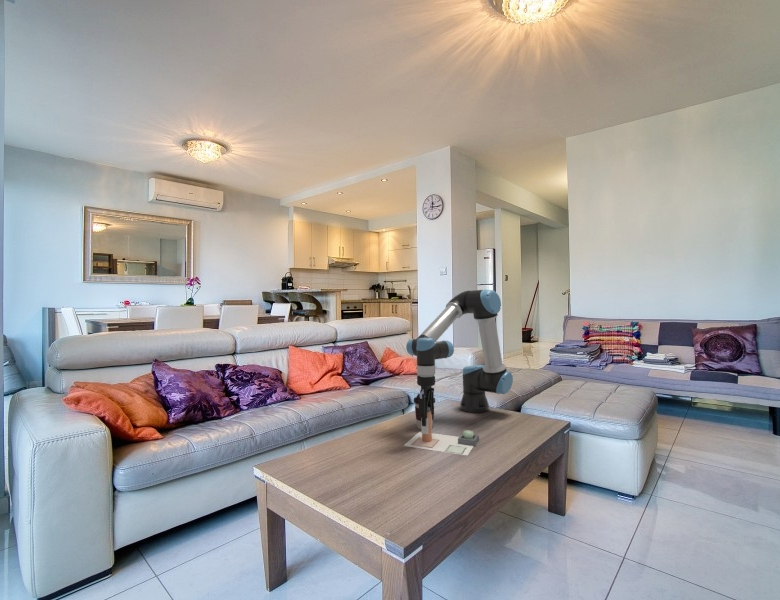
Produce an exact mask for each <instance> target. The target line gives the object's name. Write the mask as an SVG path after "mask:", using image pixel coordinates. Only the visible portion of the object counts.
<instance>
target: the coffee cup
mask: <svg viewBox="0 0 780 600" xmlns="http://www.w3.org/2000/svg"><path fill="white" fill-rule="evenodd" d="M413 403H414V404H415V406H414V411H415V412H414V414H415V420H416V427H417V428H418V429H420V430H421V418H419V399H418V394H416V396H415V397H414V398H413ZM435 403H436V398H435V397H434V404H435ZM432 412H434V414H431V415H432V429H433V428H434V419H435V410H434V411H432Z"/></svg>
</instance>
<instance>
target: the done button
mask: <svg viewBox="0 0 780 600" xmlns="http://www.w3.org/2000/svg"><path fill="white" fill-rule="evenodd" d="M462 433H463V435H464V439H472V440H473V439H474V437H473V434H474V431H473V430H466V429H465V430H463V431H462Z"/></svg>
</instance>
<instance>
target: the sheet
mask: <svg viewBox="0 0 780 600" xmlns="http://www.w3.org/2000/svg"><path fill="white" fill-rule="evenodd" d="M458 438H459V436H457V435H456V436H455V435H448V434H440V433H433V432H432V441H431V442H423V441H422V433H421V431H418V432H417V433H416V434H415V435H414V436H413V437H411V439H409V440H408V441H407V442H406V443H404V444H403V447H410V448H415V449H422V450H428V451H435V452H440V453H441V452H442V453H448V454H455V455H460V456H469V454H470V453H471V451H472V449H473V448H474V447H475V446H472V445H465V444H458Z"/></svg>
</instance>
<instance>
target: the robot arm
mask: <svg viewBox="0 0 780 600" xmlns="http://www.w3.org/2000/svg"><path fill="white" fill-rule="evenodd" d="M501 306H502V302H501V298H500V296H499V294H498V293H497V292H496V291H495V290H494V289H476V290H464V291H462V292H461V293H458V294H457V295H455V296H454V297H453V298H451V299H450V300H449V301H448V302H447V303H446V304H445V309H443V310H442V311H441V313H439V315H438V316H437V317H436V318H435V319H434V320H433V321H432V322H431V323H430V324H429V325H428V326H427V327H426V328H425V329H424V330H423V331H422V332H421V334H420V335H419V336H418V337H417V338H411V339H409V340H408V341H407V343H406V344H405V345H406V346H405V347H406V348H405V349H406V351H407V353H408V355H410V356H414V357H416V367H415V369H416V374H417V376H416V384H417V386H420V390H419V391H420V393H417V395H418V399H419V418H421V429H420V430H421V431H420V432H421V433H422V434H428V418H427V410H428V407H430V411H431V414H434V415H435V403H434V398H435V397H434V395H435V394H434V393H435V388H434V387H433V386H436V376H435V375H436V360H440V359H441V360H442V359H448V358H451V357H452V356H453V355H454V353H455V347H454V344H453V343H452V342H451V341H449V340H439V339H440V338H441V336H443V334H444V333H445V332H446V331H447V330H448V329H449V328H450V327H451V325H453V323H454V322H456V320H457V319H460V318H461V317H463V315H467V314H473V318H474V320H475V321H476V322H477V325H478V332H479V338H480V342H481V348H482V355H483V359H484V365H483V364H477V365H467V366H465V367H463V369H462V390H463V391H462V397H461V400H460V403H459V404H460V405H459V407H460V410H461V411H464V412H469V413H484V412H488V411H489V410H490V406H489V405H490V404H489V401H488V398H487V395H486V392H487V393H493V394H496V395H506V394H508V393H509V391H511V389H512V385H513V383H514V382H513V381H514V380H513V379H514V378H513V377H514V376H513V374H512V373H511V372H510V371H509V370H507V366H506V364H504V363H503V360H502V353H501V346H500V340H499V339H500V338H499V333H498V329H497V322H496V318H497V316H498V313H499V312H501ZM432 411H434V412H432ZM431 422H432V415H431Z"/></svg>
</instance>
